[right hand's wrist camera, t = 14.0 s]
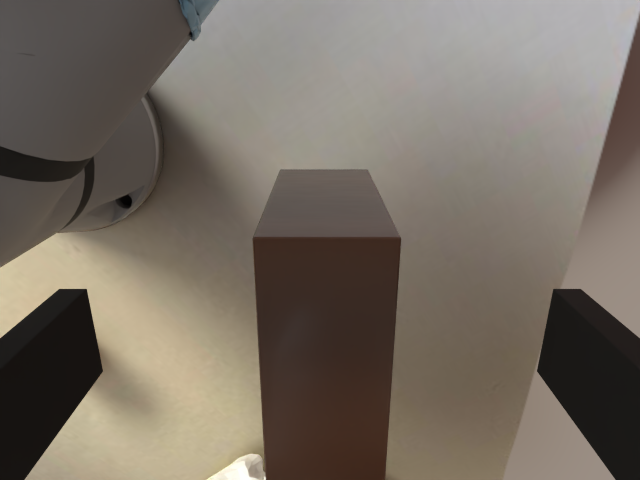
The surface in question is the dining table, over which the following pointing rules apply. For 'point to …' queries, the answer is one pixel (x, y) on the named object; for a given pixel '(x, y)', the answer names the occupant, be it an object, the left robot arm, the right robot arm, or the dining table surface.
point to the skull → (243, 469)
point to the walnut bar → (325, 325)
